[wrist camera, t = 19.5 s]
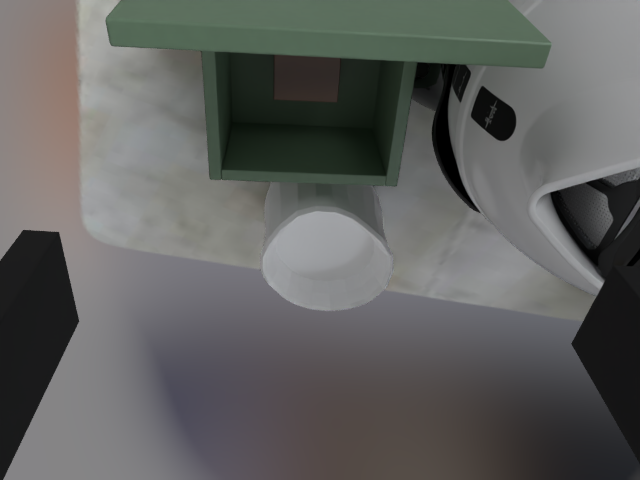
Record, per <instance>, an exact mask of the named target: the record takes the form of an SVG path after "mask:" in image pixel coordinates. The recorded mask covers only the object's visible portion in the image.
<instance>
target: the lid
mask: <svg viewBox="0 0 640 480" xmlns="http://www.w3.org/2000/svg"><path fill="white" fill-rule="evenodd" d="M106 25H107V31H108V36H109V41H110V44H111V46H119V47H138V48H157V49H176V50H195V51H214V52H234V53H253V54H272V55H291V56H310V57H329V58H348V59H367V60H386V61H406V62H425V63H444V64H463V65H482V66H501V67H520V68H539V69H542V68H544V66H545V64H546V61H547V58H548V55H549V52H550V49H551V46H552V43H551V42H550V41H549V40H548V39H547V38H546V37H545V36H544V35H543V34H542V33H541V32H540V31H539V30H538V29H537V28H536V27H535V26H534V25H533V24H532V23H531V22H530V21H529V20H528V19H527V18H526V17H525V16H524V15H523V14H522V13H521V12H520V11H518V10H517V9H516V8H515V7H514V6H513V5H512V4H511V3H510V2H509V1H508V0H121V1H120V2H119V3H118V4H117V6H116V7H115V8H114V9H113V10H112V11H111V13H110V14H109V15H108V16H107V17H106Z"/></svg>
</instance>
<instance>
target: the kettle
mask: <svg viewBox="0 0 640 480" xmlns="http://www.w3.org/2000/svg"><path fill="white" fill-rule="evenodd" d="M508 1H509V2H510V3H511V4H512V5H513V6H514V7H515V8H516V9H517V10H518V11H520V12H521V13H522V14H523V15H524V16H525V17H526V18H527V19H528V20H529V21H530V22H531V23H532V24H533V25H534V26H535V27H536V28H537V29H538V30H539V31H540V32H541V33H542V34H543V35H544V36H545V37H546V38H547V39H548V40H549V41H550V42H551V43H552V46H551V49H550V52H549V55H548V58H547V61H546V64H545V66H544V68H542V69H539V68H520V67H501V66H482V65H463V64H444V63H430V67H429V71H428V73H427V75H426V76H425V77H424V78H421V77H415V80H414V86H413V92H412V98H411V99H413V100H414V101H416V102H418V103H419V104H421V105H423V106H425V107H427V108H429V109H431V110H433V111H435V116H434V120H433V126H432V141H433V147H434V152H435V155H436V159H437V161H438V164H439V166H440V169H441V171H442V173H443V175H444V176H445V178H446V180H447V181H448V183H449V184H450V186H451V187H452V189H453V190H454V191H455V192H456V194H457V195H458V196H459V197H460V198H461V199H462V200H463V201H464V202H465V203H466V204H467V205H468V206H469V207H470V208H471V209H473V210H474V211H477V212H479V213H482V215H483V216H484V217H485V218H486V219H487V220H488V221H489V222H490V223H491V224H492V225H493V226H494V227H495V228H496V229H497V230H498V231H499V232H500V233H501V234H502V235H503V236H504V237H505V238H506V239H507V240H508V241H509V242H510V243H511V244H512V245H513V246H515V247H516V248H517V249H518V250H519V251H521V252H522V253H523V254H524V255H525V256H527V257H528V258H529V259H531V260H532V261H533V262H535V263H536V264H538V265H539V266H541V267H542V268H544V269H545V270H547V271H548V272H550V273H551V274H553V275H555V276H557V277H558V278H560V279H562V280H563V281H565V282H567V283H569V284H571V285H573V286H575V287H577V288H579V289H581V290H583V291H585V292H587V293H589V294H592V295H594V296H596V297H597V295H598V293H599V291H600V289H601V287H602V285H603V283H604V282H605V280H606V278H607V276H608V274H609V272H610V270H611V268H612V267H613V265H617V266H633V267H640V0H508Z"/></svg>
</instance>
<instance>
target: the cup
mask: <svg viewBox="0 0 640 480" xmlns="http://www.w3.org/2000/svg"><path fill="white" fill-rule="evenodd" d="M264 218H265V241H264V245H263V249H262V251H261V253H260V270H261V273H262V275H263V276H264V279H265V281H266V282H267V284H269V285H270V286H271V287H272V288H273V289H274V290H275V291H276V292H277V293H278V294H280V296H282V297H283V298H284V299H286V300H288V301H289V302H291V303H293V304H295V305H298V306H301V307H304V308H308V309H311V310H323V311H338V310H345V309H353V308H355V307H358V306H360V305H363V304H366V303H369V302H371V301H372V300H373V299H374V298H375V297H377V296H378V294H380V293H381V292H382V291H383V290H384V289H385V288H386V287H387V285H388V283H389V281H390V278H391V276H392V273H393V271H394V265H393V253H392V251H391V250H390V248H389V247H388V244H387V240H386V237H385V233H384V229H383V216H382V208H381V204H380V201H379V197H378V195H377V193H376V191H375V189H374V188H373V186H372V185H349V184H321V183H293V182H271V184H270V187H269V189H268V192H267V195H266V198H265V208H264Z"/></svg>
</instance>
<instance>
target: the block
mask: <svg viewBox="0 0 640 480" xmlns="http://www.w3.org/2000/svg"><path fill="white" fill-rule="evenodd" d="M340 69H341V58H329V57H310V56H291V55H274V81H273V99H274V100H288V101H311V102H335V103H337V102H338V94H339V81H340Z"/></svg>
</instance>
